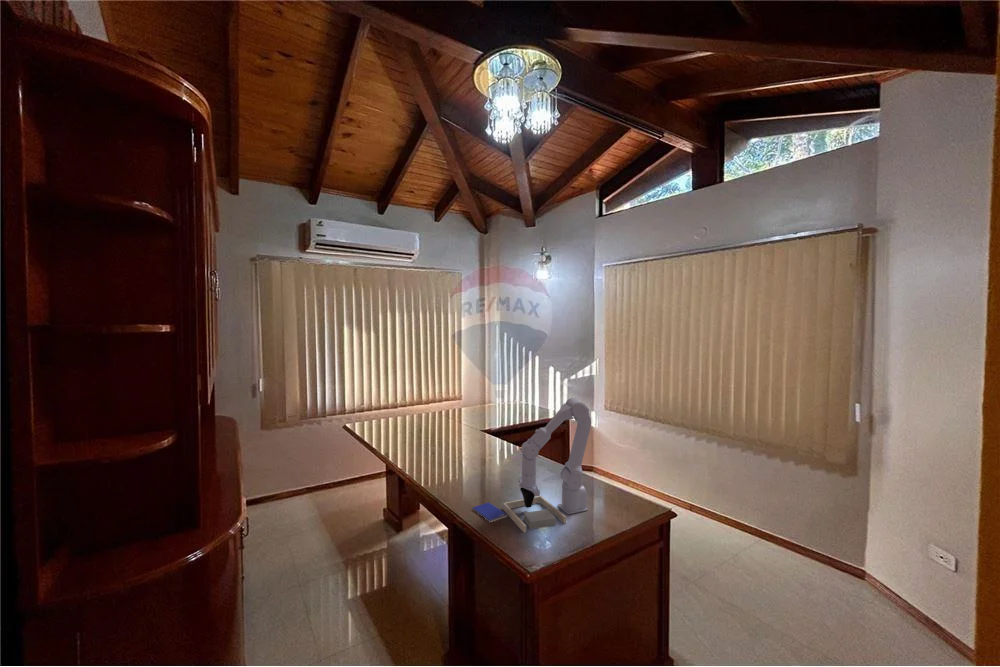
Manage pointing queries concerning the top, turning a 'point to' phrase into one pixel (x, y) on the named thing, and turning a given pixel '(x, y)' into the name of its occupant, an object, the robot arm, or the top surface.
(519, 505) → the beige u-shaped frame
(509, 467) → the top surface
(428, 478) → the top surface
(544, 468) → the top surface
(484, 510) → the hard drive
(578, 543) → the top surface
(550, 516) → the gray rectangular block
